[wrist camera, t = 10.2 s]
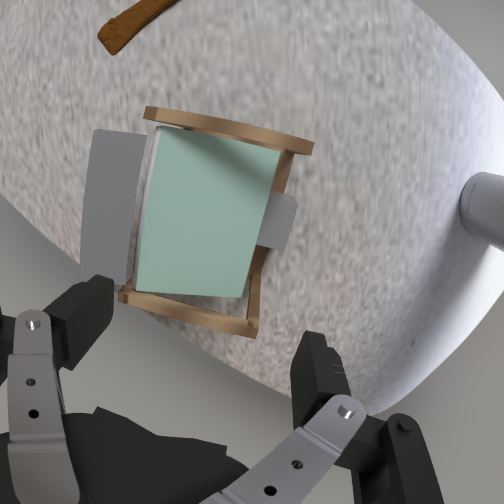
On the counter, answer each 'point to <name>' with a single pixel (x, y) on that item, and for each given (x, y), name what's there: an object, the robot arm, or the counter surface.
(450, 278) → the counter surface
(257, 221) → the trapdoor
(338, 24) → the counter surface
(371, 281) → the counter surface
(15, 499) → the robot arm
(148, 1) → the primitive tool
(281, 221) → the stone
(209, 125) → the wooden box frame
